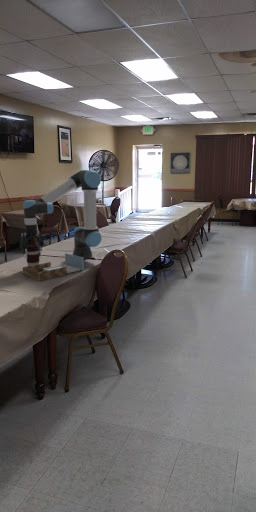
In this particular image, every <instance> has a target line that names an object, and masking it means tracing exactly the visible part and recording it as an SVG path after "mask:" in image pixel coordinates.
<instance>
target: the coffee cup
mask: <svg viewBox="0 0 256 512" xmlns="http://www.w3.org/2000/svg"><path fill="white" fill-rule="evenodd" d="M38 246H39V245H38V244H27V246H26V249H27V259H26V263H27V266H32V265H37V264H40V256H39V250H40V247H38Z"/></svg>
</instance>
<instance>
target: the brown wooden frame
mask: <svg viewBox="0 0 256 512" xmlns="http://www.w3.org/2000/svg"><path fill="white" fill-rule="evenodd" d="M47 267H52V262H51V261H49V262H43V263H39V264H37V265H32V266H28V265H27V266H22V275H23V276H25V277H27V278H29V279H32V280H36V281H37V282H41V281H46V280H50V279H54V278H55V279H56V278H58V277H59V278H60V277H62V276H67V275H68V273H67V267H62V268H58V269H53V270H48V271H42V270H43V268H47Z"/></svg>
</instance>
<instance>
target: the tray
mask: <svg viewBox="0 0 256 512" xmlns="http://www.w3.org/2000/svg"><path fill="white" fill-rule="evenodd" d="M72 254H73V253H72ZM72 254H71V253H67V252H65V253H64V261H65V263H64V264H57V265H53V266H52V265H51V267H47V268H43V270H42V272H44V271H48V270H53V269H58V268H62V267H67V274H69V273H75V272H79V271H80V270H81V272H84V270H85V269H84V268H85V267H84V266H85V264H84V263H85V262H84V260H85V259H84V258H83V257H79V256H76V255H72Z"/></svg>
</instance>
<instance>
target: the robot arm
mask: <svg viewBox="0 0 256 512" xmlns="http://www.w3.org/2000/svg"><path fill="white" fill-rule="evenodd" d="M101 179H102V178H101V175H100V174H99V173H98V172H97V170H92V169H89V170H88V169H82V170H79V171H77V172H76V173H73V174H72V175H71V176H70V177H68V178H67V180H66V181H65V182H63V183H61V184H60V185H58V186H57V187H55V188H53V189H52V190H51V191H48V192H47V193H45V195H43V196H41V197H39V198H37V199H36V200H34V199H29V200H28V199H27V200H24V201H23V206H22V207H23V216H24V217H23V218H24V220H23V221H24V233H23V232H22V233H20V236H21V237H20V242H19V249H22V254H23V259H24V260H25V259H26V260H27V249H26V247H27V246H28V245H29V241H30V240H31V239H34V240H35V242H36V243H37V244H36V245H37V246H38V247H40V250H39V257H42V250H43V246H44V245H45V242H44V239H43V236H42V231H40V230H38V229H37V227H38V225H37V215H48V214H49V215H50V214H52V213H53V212H54V205H53V203H54V202H56V201H58V200H60V199H61V198H62V197H64V196H66V195H67V194H68V193H70V192H72V191H73V190H77V189H80V188H81V191H82V192H83V210H84V211H83V216H84V217H83V218H84V219H83V220H84V221H83V222H84V225H83V226H77V227H75V228H74V229H73V240H74V242H73V245H74V247H73V251H72V255H76V256H79V257H83V258H84V260H86V259H87V260H88V259H91V258H93V252H92V249H91V248H96V247H98V246H99V245H100V244H101V242H102V240H103V239H102V234H101V233H100V232H99V231H100V230H99V227H98V226H97V192H98V190H99V186H100V184H101V182H102V181H101ZM37 230H38V231H37Z"/></svg>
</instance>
